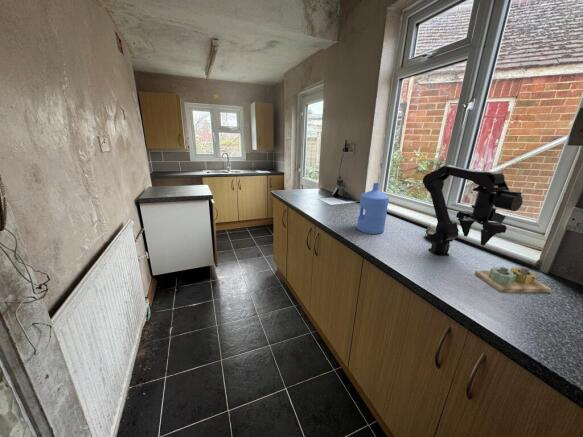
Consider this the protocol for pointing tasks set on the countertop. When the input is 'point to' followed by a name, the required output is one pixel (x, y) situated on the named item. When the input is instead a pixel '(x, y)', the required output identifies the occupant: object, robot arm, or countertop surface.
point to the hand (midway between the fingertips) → (473, 240)
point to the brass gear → (524, 276)
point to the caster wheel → (430, 232)
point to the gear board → (513, 286)
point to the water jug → (373, 211)
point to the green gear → (502, 276)
